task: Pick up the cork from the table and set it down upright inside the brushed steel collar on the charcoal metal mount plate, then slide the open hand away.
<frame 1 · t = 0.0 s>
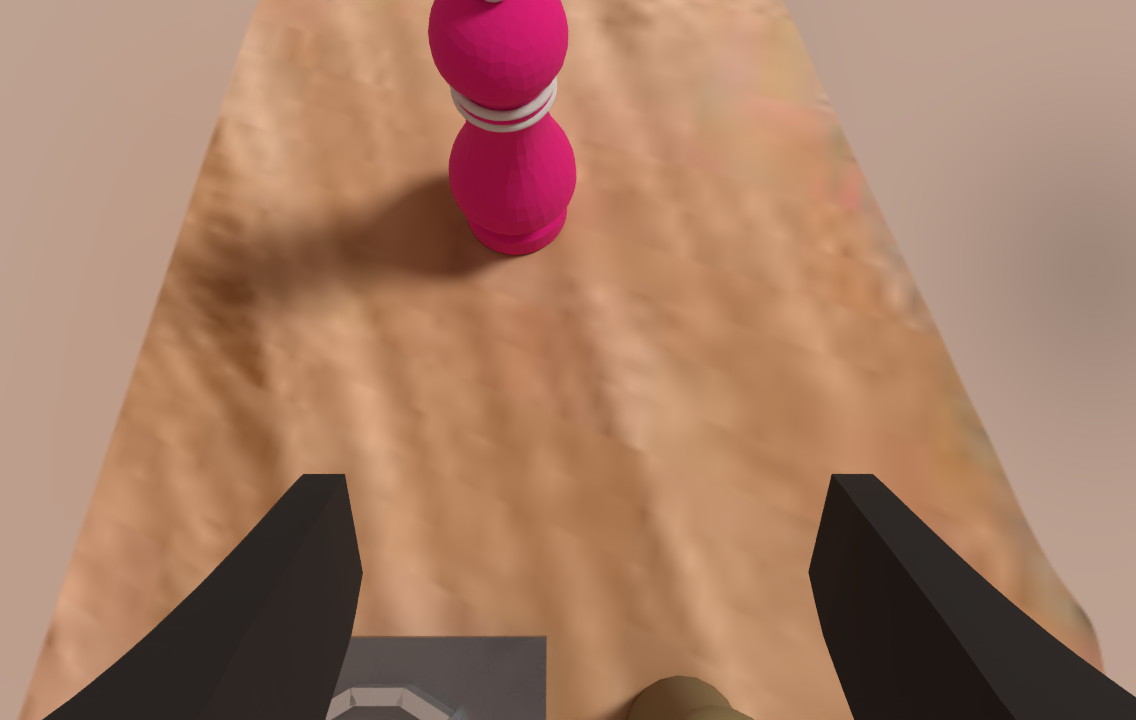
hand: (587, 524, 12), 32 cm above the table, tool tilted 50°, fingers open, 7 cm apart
pepper mill: (516, 211, 50), on the table
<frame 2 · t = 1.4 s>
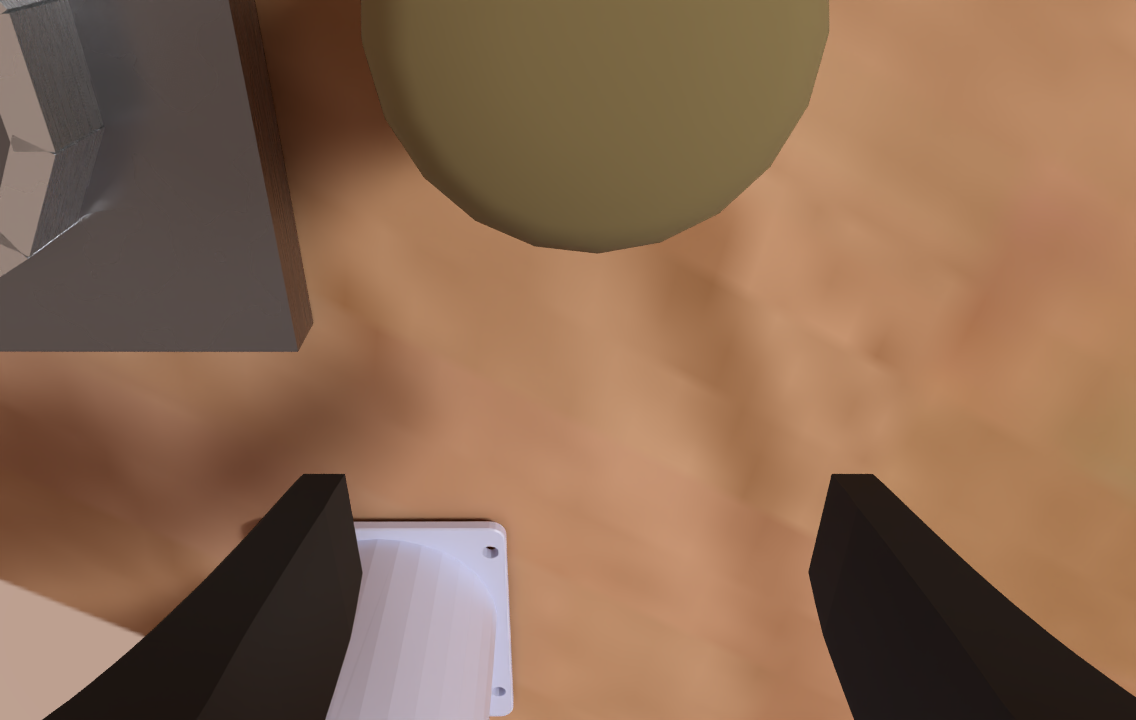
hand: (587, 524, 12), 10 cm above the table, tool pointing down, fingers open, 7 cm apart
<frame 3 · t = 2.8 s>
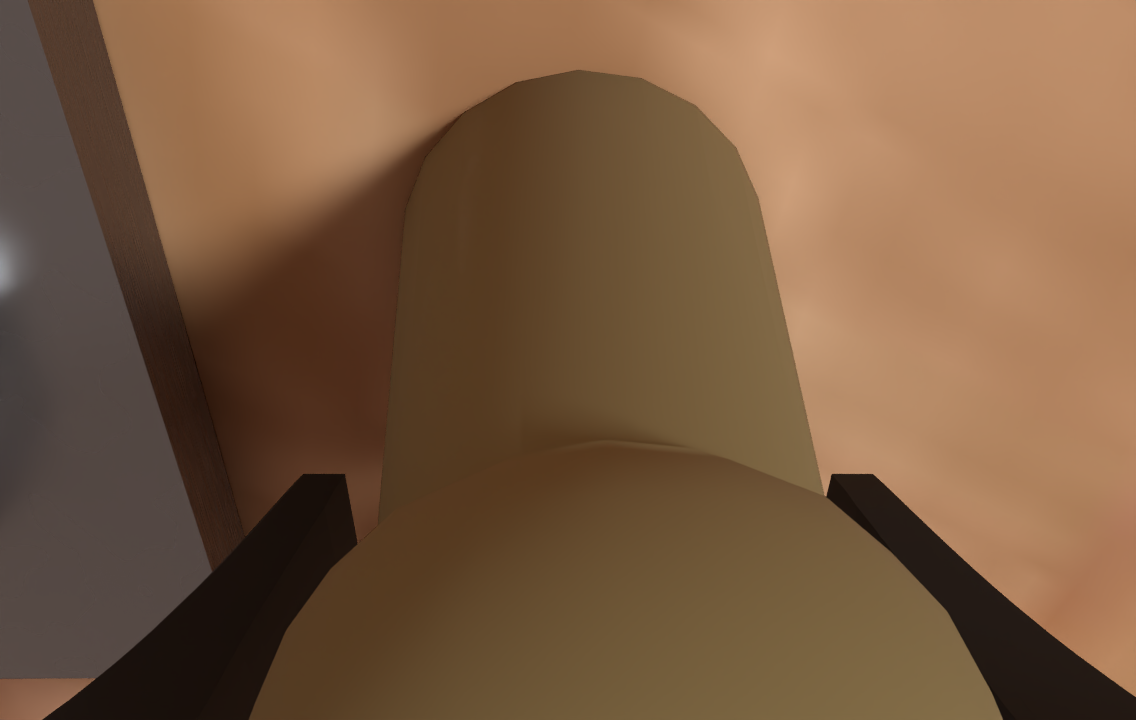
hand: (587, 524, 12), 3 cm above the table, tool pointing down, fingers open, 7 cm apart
cork: (582, 251, 14), on the table
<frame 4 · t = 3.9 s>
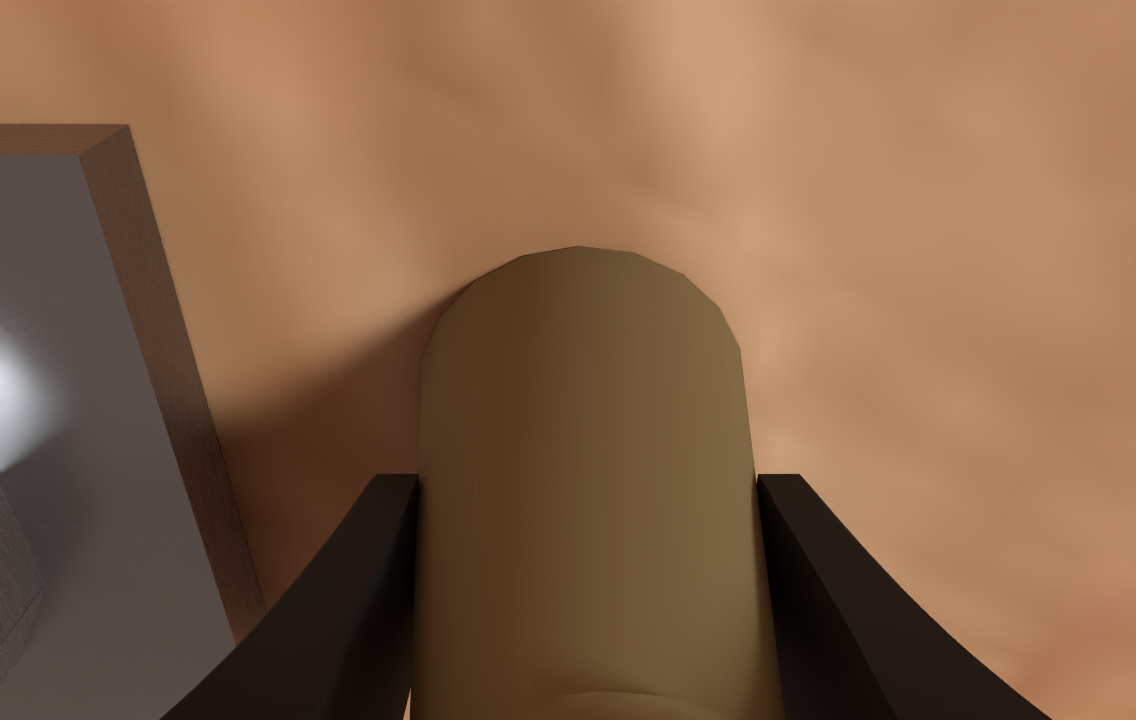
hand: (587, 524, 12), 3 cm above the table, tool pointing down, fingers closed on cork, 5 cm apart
cork: (581, 389, 15), on the table, touching gripper
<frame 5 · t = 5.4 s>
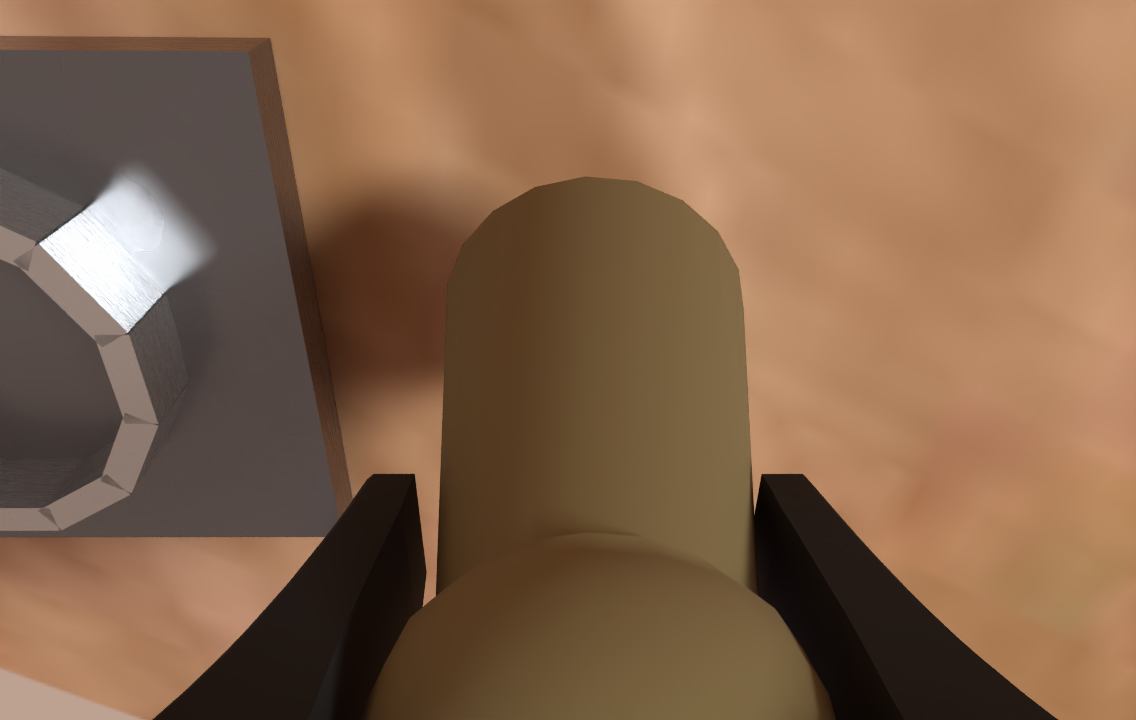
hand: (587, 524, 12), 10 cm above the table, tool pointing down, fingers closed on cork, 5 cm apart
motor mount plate: (23, 309, 22), on the table
cork: (593, 312, 16), point 5 cm above the table, touching gripper
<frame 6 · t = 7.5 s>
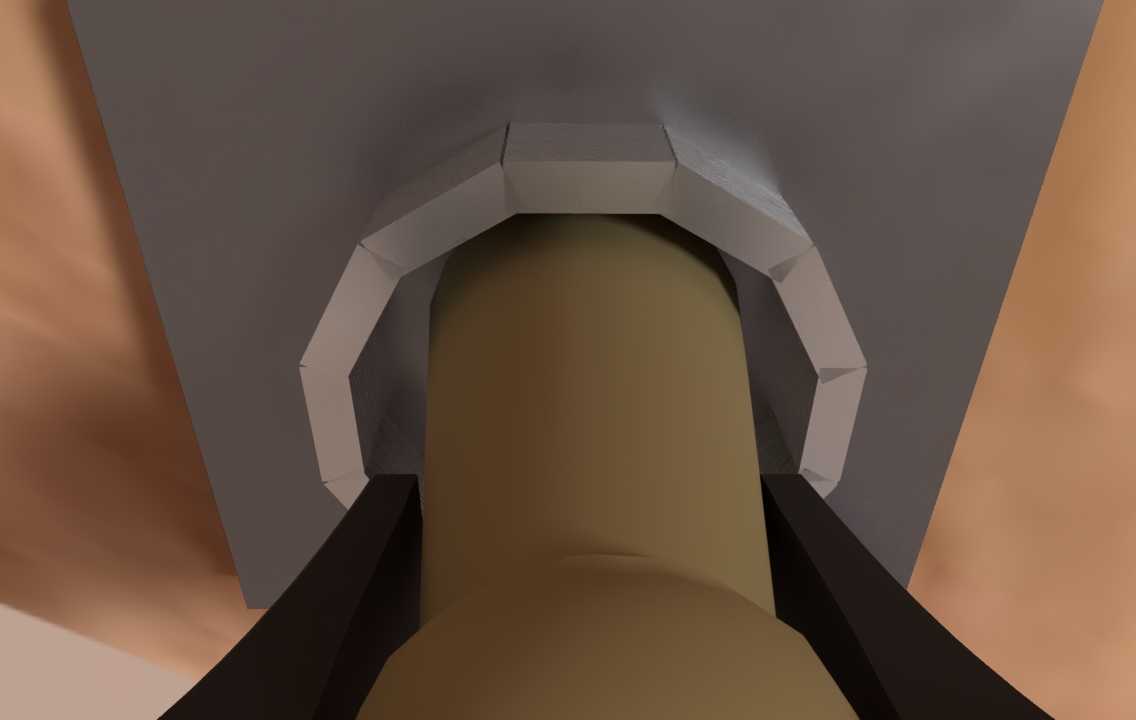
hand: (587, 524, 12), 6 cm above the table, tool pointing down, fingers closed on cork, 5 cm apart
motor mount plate: (579, 329, 17), on the table
cork: (585, 331, 16), point 1 cm above the table, touching gripper, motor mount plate
when the fingers open (6 cm above the table, at t = 8.0 s): cork stays where it is, resting on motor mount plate.
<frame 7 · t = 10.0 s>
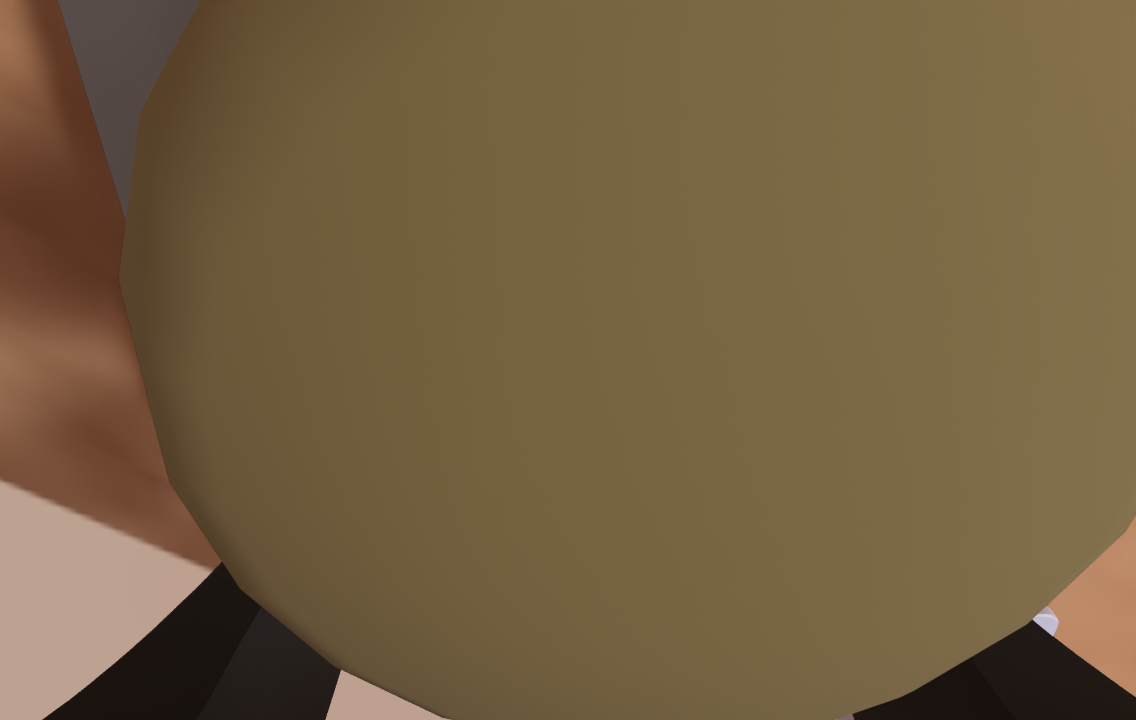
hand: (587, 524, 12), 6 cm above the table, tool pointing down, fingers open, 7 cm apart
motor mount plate: (581, 51, 14), on the table
cork: (589, 21, 12), point 1 cm above the table, touching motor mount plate
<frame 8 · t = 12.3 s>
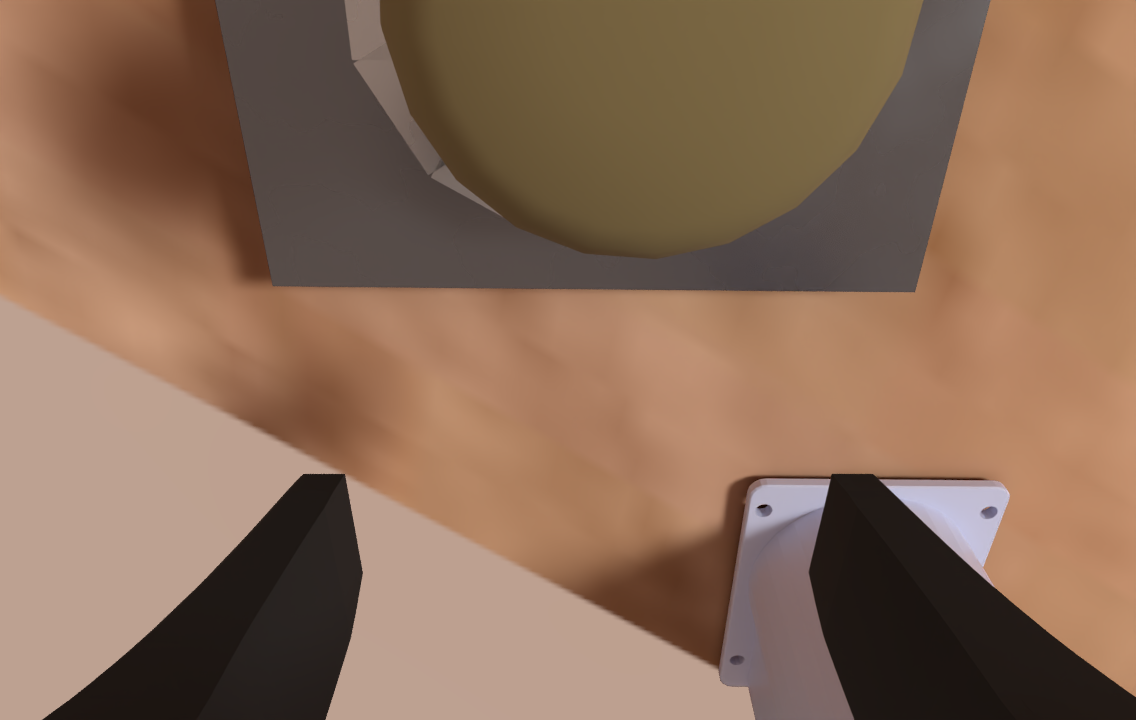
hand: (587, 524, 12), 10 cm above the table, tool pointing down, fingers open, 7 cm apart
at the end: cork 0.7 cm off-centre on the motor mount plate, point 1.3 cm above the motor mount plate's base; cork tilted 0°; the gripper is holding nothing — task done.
